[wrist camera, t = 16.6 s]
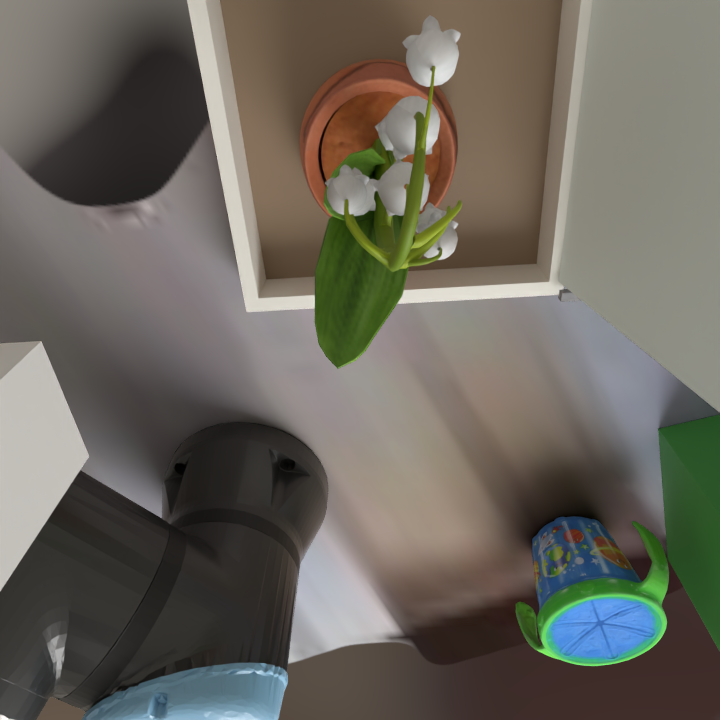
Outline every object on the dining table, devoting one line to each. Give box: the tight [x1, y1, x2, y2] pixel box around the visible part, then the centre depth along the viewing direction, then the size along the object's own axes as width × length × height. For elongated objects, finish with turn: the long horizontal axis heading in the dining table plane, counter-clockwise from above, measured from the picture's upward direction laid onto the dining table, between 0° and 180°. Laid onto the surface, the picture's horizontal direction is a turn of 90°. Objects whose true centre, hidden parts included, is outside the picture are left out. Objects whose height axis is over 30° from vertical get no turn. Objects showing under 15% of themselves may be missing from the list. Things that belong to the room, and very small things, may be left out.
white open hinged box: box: [187, 0, 720, 413], centre depth 27 cm, size 26×22×22 cm
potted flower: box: [300, 15, 462, 369], centre depth 25 cm, size 12×10×25 cm
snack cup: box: [516, 516, 669, 666], centre depth 52 cm, size 16×10×10 cm
